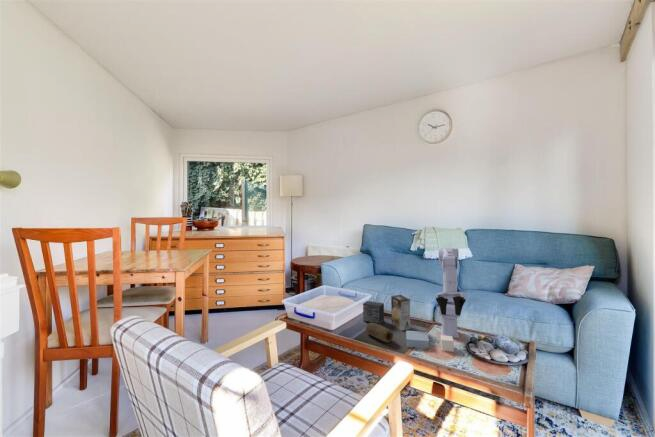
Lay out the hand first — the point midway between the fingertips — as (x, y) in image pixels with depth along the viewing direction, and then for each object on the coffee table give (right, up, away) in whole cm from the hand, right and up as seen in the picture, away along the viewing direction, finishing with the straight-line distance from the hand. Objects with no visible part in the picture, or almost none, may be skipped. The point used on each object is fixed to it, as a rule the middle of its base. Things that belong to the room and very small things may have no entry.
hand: (450, 315), depth 131 cm
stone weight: (-27, -19, +21) cm, 39 cm away
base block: (-10, -18, +15) cm, 26 cm away
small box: (-26, -17, +43) cm, 53 cm away
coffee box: (-13, -17, +34) cm, 41 cm away
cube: (+2, -18, +9) cm, 20 cm away
